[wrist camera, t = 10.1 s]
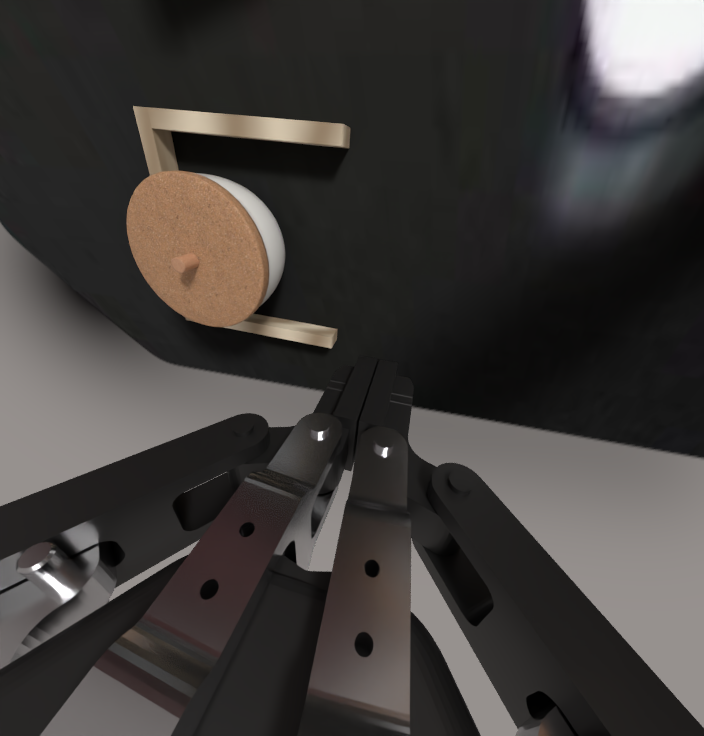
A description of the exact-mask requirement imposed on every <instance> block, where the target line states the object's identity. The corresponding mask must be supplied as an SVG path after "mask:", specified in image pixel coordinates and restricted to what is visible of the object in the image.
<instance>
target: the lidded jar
mask: <svg viewBox="0 0 704 736" xmlns="http://www.w3.org/2000/svg"><path fill="white" fill-rule="evenodd" d="M127 234H128V239H129V244H130V247H131V250H132V254H133V256H134V258H135V261H136V263H137V265H138V267H139V269H140V271H141V273H142V274H143V276H144V278H145V279H146V281H147V282H148V283H149V285H150V286H151V288H152V289H153V290H154V291H155V292H156V294H157V295H158V296H159V297H160V298H161V299H162V300H163V301H164V302H165V303H166V304H167V305H169V306H170V307H171V308H172V309H174V310H175V311H176V312H178V313H179V314H181V315H183V316H184V317H186V318H188V319H190V320H192V321H194V322H197V323H200V324H203V325H207V326H212V327H228V326H233V325H236V324H239V323H241V322H242V321H244V320H246V319H247V318H249V317H250V316H251V315H252V314H253V313H254V312H255V311H256V310H257V309H258V308H259V307H260V306H261V305H262V304H263V303H264V302H265V301H266V300H267V299H268V298H269V297H270V296H271V294H272V293H273V292H274V290H275V289H276V287H277V285H278V283H279V281H280V279H281V277H282V274H283V270H284V263H285V246H284V240H283V237H282V233H281V230H280V228H279V226H278V223H277V221H276V219H275V218H274V216H273V215H272V213H271V211H270V210H269V209H268V208H267V206H266V205H265V204H264V203H263V202H262V201H261V200H260V199H259V198H258V197H257V196H256V195H255V194H253V193H252V192H251V191H249V190H248V189H246V188H245V187H243V186H241V185H239V184H237V183H235V182H233V181H231V180H228V179H225V178H222V177H218V176H214V175H208V174H199V173H193V172H185V171H163V172H159V173H156V174H153V175H151V176H149V177H148V178H146V179H145V180H143V181H142V182H141V183H140V184H139V186H138V187H137V188H136V189H135V191H134V193H133V195H132V197H131V200H130V203H129V206H128V210H127Z"/></svg>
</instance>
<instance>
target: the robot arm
mask: <svg viewBox="0 0 704 736" xmlns="http://www.w3.org/2000/svg"><path fill="white" fill-rule="evenodd" d="M378 361H379V363H378ZM397 367H398V362H393V361H388V360H383V359H380V360H379V359H377V358H372V357H367V356H362V355H360V356H359V358H358V360H357V363H356V365H355V367H352V366H347V365H344V366H342V367H341V368H339V369H338V370H336V371H335V373H334V375H333V377H332V378H331V381H330V382H329V384H328V386H327V388H326V390H325V392H324V393H323V396H322V397H321V399H320V401H319V403H318V405H317V407H316V409H315V410H314V412H313V413H312V414H309V415H307V416H305V417H303V418H302V419H301V420H300V421H299V422H298V423H297V425H296V426H291V427H272V428H271V427H268V423H267V421H266V420H265V419H264V418H263V417H262V416H259V415H257V414H251V413H247V414H240V415H236V416H234V417H231V418H228V419H226V420H223V421H221V422H218V423H215V424H213V425H210V426H208V427H205V428H202V429H200V430H197V431H195V432H192V433H190V434H187V435H184V436H182V437H179V438H177V439H174V440H171V441H169V442H166V443H164V444H161V445H159V446H156V447H153V448H151V449H148V450H145V451H143V452H140V453H138V454H136V455H132V456H130V457H127V458H125V459H122V460H120V461H117V462H114V463H112V464H109V465H106V466H104V467H101V468H99V469H96V470H93V471H91V472H88V473H86V474H83V475H81V476H78V477H76V478H73V479H70V480H68V481H65V482H63V483H60V484H57V485H55V486H52V487H49V488H47V489H44V490H42V491H39V492H37V493H34V494H31V495H29V496H26V497H24V498H21V499H18V500H16V501H13V502H11V503H8V504H5V505H3V506H0V736H480V733H479V731H478V729H477V727H476V725H475V723H474V720H473V718H472V716H471V714H470V712H469V710H468V708H467V706H466V703H465V701H464V699H463V697H462V695H461V693H460V691H459V689H458V687H457V685H456V683H455V680H454V678H453V676H452V674H451V672H450V670H449V668H448V665H447V663H446V661H445V659H444V657H443V655H442V653H441V651H440V649H439V648H438V646H437V645H436V643H435V641H434V639H433V638H432V636H431V635H430V633H429V632H428V630H427V629H426V628H425V626H424V625H423V624H422V623H421V622H420V621H419V619H418V618H417V617H416V616H415V615H414V614H413V613H412V612H411V611H410V608H411V538H412V541H413V544H414V547H415V549H416V550H417V552H418V554H419V556H420V557H421V559H422V561H423V563H424V564H425V566H426V568H427V570H428V572H429V573H430V575H431V577H432V579H433V580H434V582H435V584H436V586H437V587H438V589H439V591H440V593H441V594H442V596H443V598H444V600H445V601H446V603H447V605H448V607H449V609H450V610H451V612H452V614H453V615H454V617H455V619H456V621H457V623H458V624H459V626H460V628H461V630H462V631H463V633H464V635H465V637H466V638H467V640H468V642H469V644H470V645H471V647H472V649H473V651H474V653H475V654H476V656H477V658H478V659H479V661H480V663H481V665H482V667H483V668H484V670H485V672H486V674H487V675H488V677H489V679H490V681H491V682H492V684H493V686H494V688H495V689H496V691H497V693H498V695H499V696H500V698H501V700H502V702H503V703H504V705H505V707H506V709H507V711H508V712H509V714H510V716H511V718H512V719H513V721H514V723H515V725H516V726H517V728H518V731H517V733H516V736H704V728H703V727H702V726H701V725H700V724H699V722H698V721H697V720H696V719H695V718H694V717H693V716H692V715H691V713H690V712H689V711H688V710H687V709H686V708H685V707H684V706H683V705H682V704H681V702H680V701H679V700H678V699H677V698H676V697H675V696H674V695H673V693H672V692H671V691H670V690H669V689H668V688H667V687H666V686H665V684H664V683H663V682H662V681H661V680H660V679H659V678H658V677H657V675H656V674H655V673H654V672H653V671H652V670H651V669H650V667H649V666H648V665H647V664H646V663H645V662H644V661H643V660H642V658H641V657H640V656H639V655H638V654H637V653H636V652H635V651H634V650H633V648H632V647H631V646H630V645H629V644H628V643H627V642H626V641H625V639H624V638H622V636H621V635H620V634H619V633H618V632H617V630H616V629H615V628H614V627H613V626H612V625H611V624H610V623H609V621H608V620H607V619H606V618H605V617H604V616H603V615H602V614H601V612H600V611H599V610H598V609H597V608H596V607H595V606H594V605H593V604H592V603H591V601H590V600H589V599H588V598H587V597H586V596H585V595H584V594H583V593H582V591H581V590H580V589H579V588H578V587H577V586H576V584H575V583H574V582H573V581H572V580H571V579H570V578H569V577H568V575H566V573H565V572H564V571H563V570H562V569H561V568H560V567H559V565H558V564H557V563H556V562H555V561H554V560H553V559H552V558H551V557H550V555H549V554H548V553H547V552H546V551H545V550H544V549H543V547H542V546H541V545H540V544H539V543H538V542H537V541H536V540H535V539H534V537H533V536H532V535H531V534H530V533H529V532H528V531H527V530H526V529H525V527H524V526H523V525H522V524H521V523H520V522H519V521H518V519H517V518H516V517H515V516H514V515H513V514H512V513H511V512H510V510H509V509H508V508H507V507H506V506H505V505H504V504H503V503H502V501H501V500H500V499H499V498H498V497H497V496H496V495H495V494H494V492H493V491H492V490H491V489H490V488H489V487H488V486H487V485H486V483H485V482H484V481H483V480H482V479H481V478H480V477H479V476H478V475H477V474H476V473H475V472H473V471H472V470H471V469H469V468H468V467H465V466H463V465H460V464H456V463H445V464H441V465H439V466H438V467H435V466H434V465H432V464H430V463H428V462H426V461H424V460H423V459H421V458H420V457H419V456H417V455H416V454H415V453H414V451H413V450H412V449H411V447H410V445H409V442H408V430H409V423H410V415H411V407H412V400H413V399H412V398H413V392H414V386H413V384H412V382H411V380H410V378H407V377H402V376H397V375H396V373H397ZM354 460H355V461H354ZM353 463H354V470H353V477H352V482H351V487H350V492H349V497H348V500H347V501H346V505H345V510H344V515H343V520H342V524H341V529H340V534H339V539H338V544H337V549H336V554H335V559H334V564H333V569H332V572H316V571H313V572H312V571H308V568H309V564H310V561H311V557H312V552H313V549H314V546H315V543H316V540H317V538H318V535H319V533H320V531H321V529H322V526H323V523H324V521H325V519H326V517H327V514H328V512H329V509H330V507H331V504H332V502H333V500H334V498H335V495H336V493H337V490H338V484H339V482H340V480H341V477H342V473H343V471H344V469H345V470H349V471H351V470H352V467H353ZM225 472H227V473H225ZM223 473H224V474H223ZM221 474H222V475H221ZM219 475H220V476H219ZM216 476H218V477H216ZM214 477H216V478H214ZM213 478H214V479H213ZM210 479H212V480H210ZM208 480H210V481H208ZM206 481H208V482H206ZM204 482H206V483H204ZM202 483H204V484H202ZM200 484H202V485H200ZM198 485H199V486H198ZM196 486H197V487H196ZM194 487H196V488H194ZM191 488H193V489H191ZM189 489H191V490H189ZM187 490H189V491H187ZM185 491H187V492H185ZM184 492H185V493H184ZM198 540H199V542H198V543H197V544H196V546H195V547H194V548H193V550H192V551H191V553H190V554H189V555H187V556H185V557H183V558H181V559H178V560H177V561H175V562H173V563H171V564H170V565H168V566H167V567H165V568H163V569H162V570H160V571H158V572H157V573H155V574H153V575H152V576H150V577H149V578H147V579H145V580H144V581H142V582H141V583H139V584H137V585H136V586H134V587H133V588H131V589H129V590H128V591H126V592H124V593H123V594H121V595H120V596H118V597H116V598H115V599H113V600H112V601H110V602H109V598H110V596H111V595H112V593H113V591H114V588H116V587H117V586H119V585H121V584H122V583H124V582H126V581H128V580H130V579H131V578H133V577H135V576H137V575H138V574H140V573H142V572H144V571H145V570H147V569H149V568H151V567H152V566H154V565H156V564H158V563H159V562H161V561H163V560H165V559H166V558H168V557H170V556H172V555H173V554H175V553H177V552H178V551H180V550H182V549H184V548H186V547H187V546H189V545H191V544H192V543H194V542H196V541H198Z"/></svg>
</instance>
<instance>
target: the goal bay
mask: <svg viewBox="0 0 704 736" xmlns="http://www.w3.org/2000/svg"><path fill="white" fill-rule="evenodd" d="M133 109H134V113H135V117H136V121H137V125H138V129H139V133H140V137H141V141H142V145H143V149H144V153H145V157H146V161H147V165H148V169H149V173H150V176H151V175H153V174H156V173H159V172H163V171H179V169H178V164H177V159H176V154H175V150H174V145H173V140H172V135H171V131H173V132H183V133H194V134H204V135H215V136H225V137H235V138H246V139H256V140H266V141H277V142H287V143H297V144H308V145H318V146H329V147H339V148H349V142H350V127H348V126H346V125H344V124H337V123H325V122H313V121H301V120H289V119H278V118H266V117H254V116H242V115H231V114H219V113H207V112H195V111H183V110H172V109H160V108H148V107H136V106H133ZM186 320H188V321H192V320H190V319H188V318H186ZM193 322H194V321H193ZM224 328H229V329H234V330H239V331H245V332H250V333H255V334H260V335H265V336H270V337H275V338H280V339H286V340H291V341H296V342H301V343H306V344H311V345H316V346H321V347H327V348H332V346H333V345H334V343H335V341H336V340H337V329H334V328H329V327H323V326H318V325H313V324H307V323H302V322H296V321H291V320H286V319H280V318H275V317H269V316H264V315H259V314H252V315H251V316H250V317H249V318H247V319H246V320H244V321H242V322H241V323H239V324H236V325H233V326H228V327H224Z"/></svg>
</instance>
